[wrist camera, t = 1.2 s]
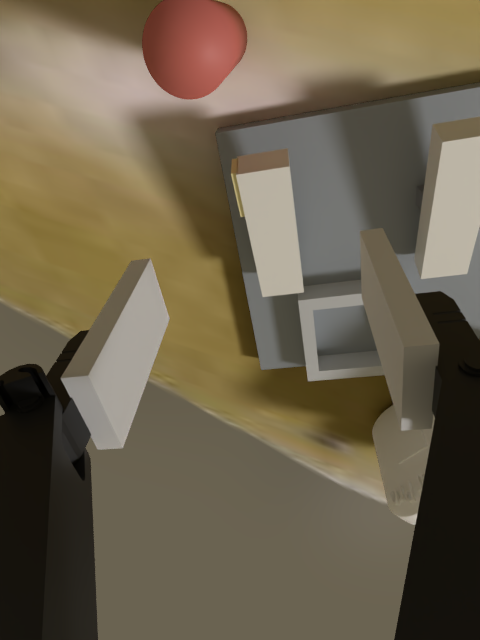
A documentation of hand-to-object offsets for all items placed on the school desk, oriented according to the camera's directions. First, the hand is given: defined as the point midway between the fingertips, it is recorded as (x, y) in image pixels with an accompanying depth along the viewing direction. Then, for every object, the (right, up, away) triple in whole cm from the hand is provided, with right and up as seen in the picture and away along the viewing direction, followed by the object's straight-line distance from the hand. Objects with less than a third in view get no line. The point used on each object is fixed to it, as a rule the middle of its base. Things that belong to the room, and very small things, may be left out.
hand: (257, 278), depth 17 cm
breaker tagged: (+1, +5, +13) cm, 14 cm away
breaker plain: (+12, +5, +11) cm, 17 cm away
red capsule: (-2, +15, +10) cm, 19 cm away
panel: (+8, +4, +17) cm, 20 cm away
